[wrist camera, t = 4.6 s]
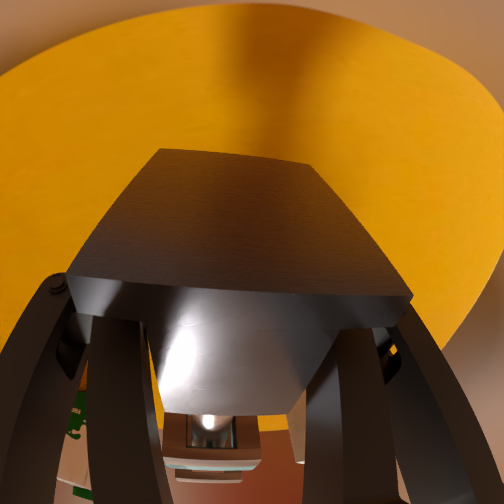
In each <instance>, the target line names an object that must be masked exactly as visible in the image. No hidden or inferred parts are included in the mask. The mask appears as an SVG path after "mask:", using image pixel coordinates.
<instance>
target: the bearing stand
mask: <svg viewBox="0 0 504 504" xmlns="http://www.w3.org/2000/svg"><path fill="white" fill-rule="evenodd" d="M232 436H233V449H198V448H187V446H192V444H193V436H192V424H191V415H188V414H181V413H170V412H165V413H164V427H163V444H162V456H163V459H164V461H165V463H166V464H173V465H184V466H200V467H251V466H256V465H257V464H258V463H259V462H260V461H261V460H262V454H261V446H260V437H259V428H258V420H257V416H233V418H232ZM224 447H232V442H231V427H230V429H229V432H228V436H227V439H226V442H225V446H224ZM175 478H176V480H177V481H185V482H203V483H240V482H241V481H242V470H234V471H224V473H211V472H192V470H191V469H178V468H175Z"/></svg>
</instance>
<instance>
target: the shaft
mask: <svg viewBox="0 0 504 504" xmlns="http://www.w3.org/2000/svg"><path fill="white" fill-rule="evenodd" d="M65 276H66V280H67V283H68V286H69V289H70V292H71V295H72V298H73V301H74V304H75V307H76V310H77V312H78V313H84V314H90V315H96V316H103V317H110V318H117V319H125V320H133V321H141V322H145V325H146V330H147V336H148V341H149V346H150V351H151V356H152V361H153V366H154V370H155V374H156V379H157V383H158V387H159V391H160V395H161V399H162V403H163V406H164V410H165V412H170V413H181V414H191V424H192V436H193V446H197V447H224V446H225V442H226V439H227V436H228V432H229V429H230V425H231V422H232V418H233V416H258V415H280V414H289V412H290V411H291V409H292V408H293V406H294V405H295V404H296V402H297V401H298V399H299V398H300V396H301V395H302V393H303V392H304V390H305V388H306V387H307V385H308V384H309V382H310V381H311V379H312V378H313V376H314V374H315V373H316V371H317V370H318V368H319V366H320V365H321V363H322V361H323V360H324V358H325V356H326V355H327V353H328V351H329V349H330V348H331V346H332V344H333V343H334V341H335V339H336V337H337V335H338V334H339V332H340V330H341V329H365V328H382V327H394V326H395V325H396V323H397V322H398V320H399V319H400V317H401V315H402V314H403V312H404V311H405V309H406V307H407V306H408V304H409V303H410V301H411V299H412V298H413V296H414V295H413V293H412V292H411V291H410V289H409V288H408V286H407V285H406V283H405V282H404V280H403V279H402V277H401V276H400V275H399V273H398V272H397V270H396V269H395V268H394V266H393V265H392V264H391V262H390V261H389V259H388V258H387V257H386V255H385V254H384V253H383V251H382V250H381V249H380V247H379V246H378V245H377V244H376V242H375V241H374V240H373V238H372V237H371V236H370V234H369V233H368V232H367V231H366V229H365V228H364V227H363V226H362V224H361V223H360V222H359V221H358V220H357V218H356V217H355V216H354V215H353V213H352V212H351V211H350V210H349V209H348V207H347V206H346V205H345V204H344V203H343V202H342V200H341V199H340V198H339V197H338V196H337V195H336V193H335V192H334V191H333V190H332V189H331V188H330V187H329V185H328V184H327V183H326V182H325V181H324V180H323V179H322V178H321V177H320V175H319V174H318V173H317V172H316V171H315V170H314V169H313V168H312V167H311V166H310V165H308V164H302V163H296V162H290V161H284V160H277V159H270V158H263V157H255V156H247V155H238V154H229V153H219V152H208V151H195V150H180V149H161V148H160V149H159V150H158V151H157V152H156V153H155V154H154V156H153V157H152V158H151V159H150V160H149V161H148V162H147V163H146V165H145V166H144V167H143V168H142V169H141V170H140V171H139V173H138V174H137V175H136V176H135V177H134V179H133V180H132V181H131V182H130V183H129V185H128V186H127V187H126V188H125V189H124V191H123V192H122V193H121V194H120V196H119V197H118V198H117V199H116V201H115V202H114V203H113V205H112V206H111V207H110V209H109V210H108V211H107V213H106V214H105V215H104V217H103V218H102V219H101V221H100V222H99V223H98V225H97V226H96V228H95V229H94V230H93V232H92V233H91V235H90V236H89V238H88V239H87V240H86V242H85V243H84V245H83V246H82V248H81V249H80V251H79V252H78V254H77V256H76V257H75V259H74V260H73V262H72V263H71V265H70V267H69V268H68V270H67V271H66V273H65Z"/></svg>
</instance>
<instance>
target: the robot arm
mask: <svg viewBox="0 0 504 504" xmlns="http://www.w3.org/2000/svg"><path fill="white" fill-rule="evenodd" d="M393 345H395V347H396V349H397V352H396V353H395V354H394V355H393V354H392V353H391V351H390V349H391V347H392V346H393ZM87 360H88V369H87V388H86V434H87V452H88V465H89V474H90V483H91V490H92V497H93V503H94V504H174V503H173V500H172V496H171V492H170V488H169V484H168V479H167V475H166V470H165V465H164V461H163V456H162V450H161V445H160V440H159V433H158V427H157V421H156V414H155V406H154V399H153V390H152V381H151V371H150V360H149V346H148V336H147V330H146V325H145V322H141V321H133V320H125V319H117V318H110V317H103V316H96V315H90V314H84V313H78V312H77V310H76V307H75V304H74V301H73V298H72V295H71V292H70V289H69V286H68V283H67V280H66V276H65V273H56V274H52V275H51V276H49V277H47V278H46V279H45V280H44V281H43V282H42V283H41V285H40V286H39V288H38V289H37V291H36V292H35V294H34V296H33V297H32V299H31V300H30V302H29V303H28V305H27V307H26V308H25V310H24V312H23V313H22V315H21V317H20V318H19V320H18V322H17V323H16V325H15V327H14V329H13V331H12V332H11V334H10V336H9V338H8V340H7V342H6V344H5V346H4V347H3V349H2V351H1V353H0V504H53V502H54V494H55V487H56V480H57V474H58V469H59V463H60V458H61V453H62V448H63V444H64V439H65V435H66V431H67V427H68V423H69V419H70V415H71V412H72V408H73V404H74V401H75V398H76V394H77V391H78V388H79V384H80V381H81V378H82V375H83V372H84V369H85V366H86V363H87ZM395 456H396V457H395ZM396 459H397V462H398V465H399V468H400V471H401V474H402V477H403V480H404V483H405V486H406V489H407V493H408V496H409V499H410V502H411V504H504V484H503V482H502V480H501V477H500V474H499V472H498V469H497V466H496V463H495V460H494V458H493V455H492V453H491V450H490V448H489V445H488V443H487V440H486V438H485V436H484V433H483V431H482V429H481V427H480V424H479V422H478V420H477V418H476V416H475V414H474V412H473V410H472V408H471V406H470V403H469V402H468V399H467V397H466V395H465V393H464V392H463V390H462V388H461V386H460V384H459V382H458V380H457V379H456V377H455V375H454V373H453V371H452V369H451V368H450V366H449V364H448V362H447V361H446V359H445V357H444V356H443V354H442V352H441V350H440V349H439V347H438V345H437V344H436V342H435V341H434V339H433V337H432V336H431V334H430V332H429V331H428V329H427V328H426V326H425V325H424V323H423V322H422V320H421V318H420V317H419V315H418V314H417V312H416V311H415V309H414V308H413V306H412V305H411V304H410V303H409V304H408V306H407V307H406V309H405V311H404V312H403V314H402V315H401V317H400V319H399V320H398V322H397V323H396V325H395V326H394V327H382V328H365V329H341V330H340V332H339V334H338V335H337V337H336V339H335V341H334V343H333V344H332V346H331V348H330V349H329V351H328V353H327V355H326V356H325V358H324V360H323V361H322V363H321V365H320V366H319V368H318V370H317V371H316V373H315V374H314V376H313V378H312V379H311V381H310V382H309V384H308V385H307V387H306V432H305V462H304V483H303V498H302V504H409V503H407V502H405V501H403V500H402V499H401V498H400V496H399V492H398V480H397V469H396Z"/></svg>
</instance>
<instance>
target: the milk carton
mask: <svg viewBox="0 0 504 504" xmlns="http://www.w3.org/2000/svg"><path fill="white" fill-rule="evenodd" d="M57 479H58V480H61V481H63V482H66V483H68V484H71V485H74V486H73V495H76V496H79V497H82V498H85V499H88V500H92V501H93V497H92V490H91V483H90V474H89V465H88V452H87V434H86V391H84V392H77V394H76V398H75V401H74V404H73V408H72V412H71V415H70V419H69V423H68V427H67V431H66V435H65V439H64V444H63V448H62V453H61V458H60V463H59V469H58V474H57Z"/></svg>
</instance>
